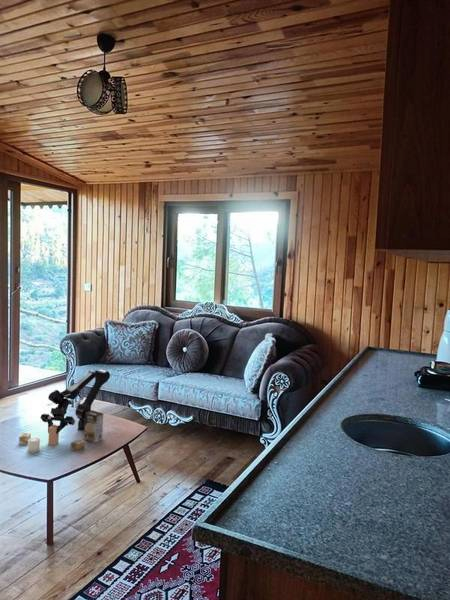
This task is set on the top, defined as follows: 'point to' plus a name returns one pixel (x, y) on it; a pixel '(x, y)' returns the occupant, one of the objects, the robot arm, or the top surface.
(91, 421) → the coffee box
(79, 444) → the walnut block
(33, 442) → the cream jar
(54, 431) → the terracotta brick
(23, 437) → the oak block
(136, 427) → the top surface
